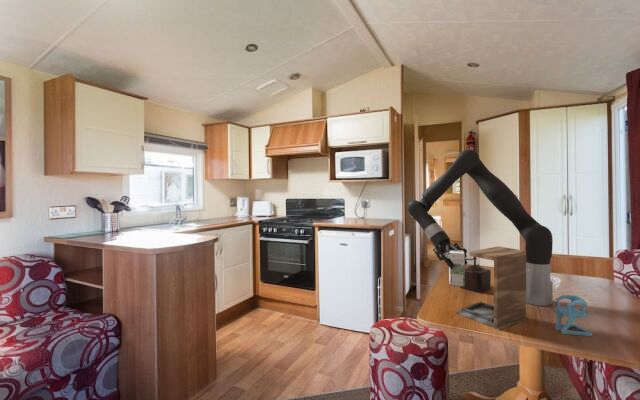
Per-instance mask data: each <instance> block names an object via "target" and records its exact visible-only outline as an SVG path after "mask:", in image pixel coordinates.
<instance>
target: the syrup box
mask: <svg viewBox="0 0 640 400" xmlns="http://www.w3.org/2000/svg"><path fill="white" fill-rule="evenodd" d="M448 256H449V258H450V260H451V261H452V262H453V264H454V265H455V266H454V267H453V268H450V267H449V266H448V280H449V281H448V282H449V285H450V286H452V287H460V286H461V287H465V268H466V267H465V266H466V265H465V254H464V252H463V250H449V255H448ZM449 258H448V259H449Z"/></svg>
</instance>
